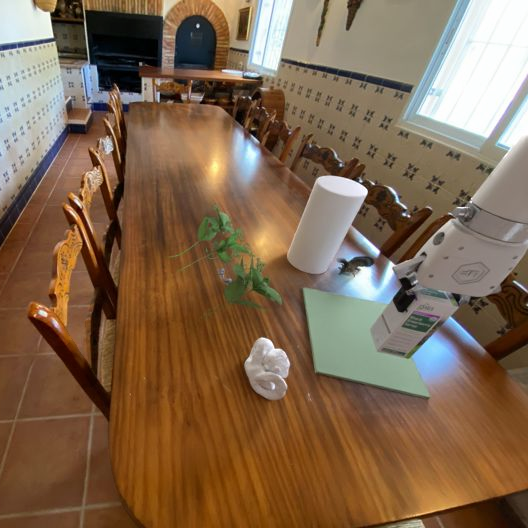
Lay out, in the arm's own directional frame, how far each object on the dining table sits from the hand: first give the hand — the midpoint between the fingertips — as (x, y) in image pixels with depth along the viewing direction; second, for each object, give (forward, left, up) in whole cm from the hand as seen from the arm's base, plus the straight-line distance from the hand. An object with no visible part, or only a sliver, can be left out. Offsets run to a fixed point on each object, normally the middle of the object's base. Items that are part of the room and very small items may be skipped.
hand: (417, 309), depth 51 cm
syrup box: (0, 0, -10) cm, 10 cm away
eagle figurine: (-4, -34, -19) cm, 39 cm away
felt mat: (0, -9, -19) cm, 21 cm away
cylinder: (+8, -36, -19) cm, 42 cm away
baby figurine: (+22, +7, -19) cm, 30 cm away
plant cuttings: (+35, -14, -19) cm, 42 cm away
